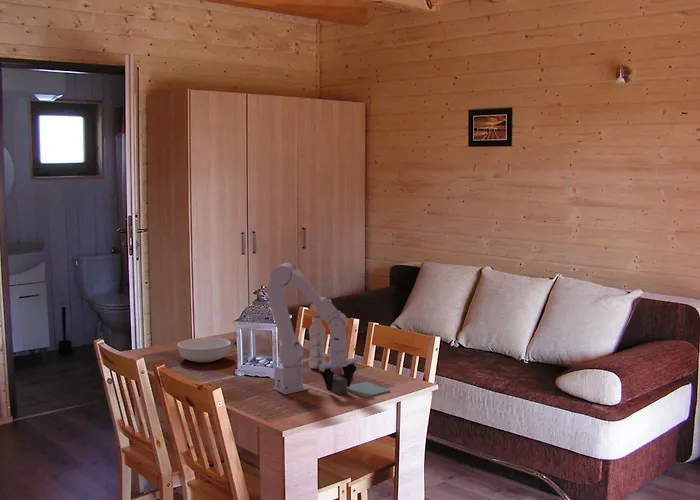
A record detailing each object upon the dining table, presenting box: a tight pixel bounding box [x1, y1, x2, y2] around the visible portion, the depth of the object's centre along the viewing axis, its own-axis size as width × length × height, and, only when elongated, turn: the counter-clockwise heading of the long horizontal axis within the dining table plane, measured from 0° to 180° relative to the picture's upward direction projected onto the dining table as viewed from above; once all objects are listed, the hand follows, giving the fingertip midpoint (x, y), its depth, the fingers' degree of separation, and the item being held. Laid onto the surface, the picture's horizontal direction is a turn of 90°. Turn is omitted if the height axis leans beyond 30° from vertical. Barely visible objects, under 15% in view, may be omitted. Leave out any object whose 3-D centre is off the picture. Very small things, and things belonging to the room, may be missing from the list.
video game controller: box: [331, 367, 344, 377], centre depth 284 cm, size 10×5×7 cm, turn 169°
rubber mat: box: [347, 381, 391, 398], centre depth 268 cm, size 11×13×1 cm
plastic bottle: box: [308, 315, 327, 370], centre depth 295 cm, size 6×7×20 cm
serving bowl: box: [177, 337, 232, 364], centre depth 308 cm, size 21×21×7 cm
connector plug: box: [330, 375, 348, 396], centre depth 267 cm, size 3×11×5 cm, turn 37°
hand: (338, 388), depth 266 cm, fingers open, 7 cm apart
